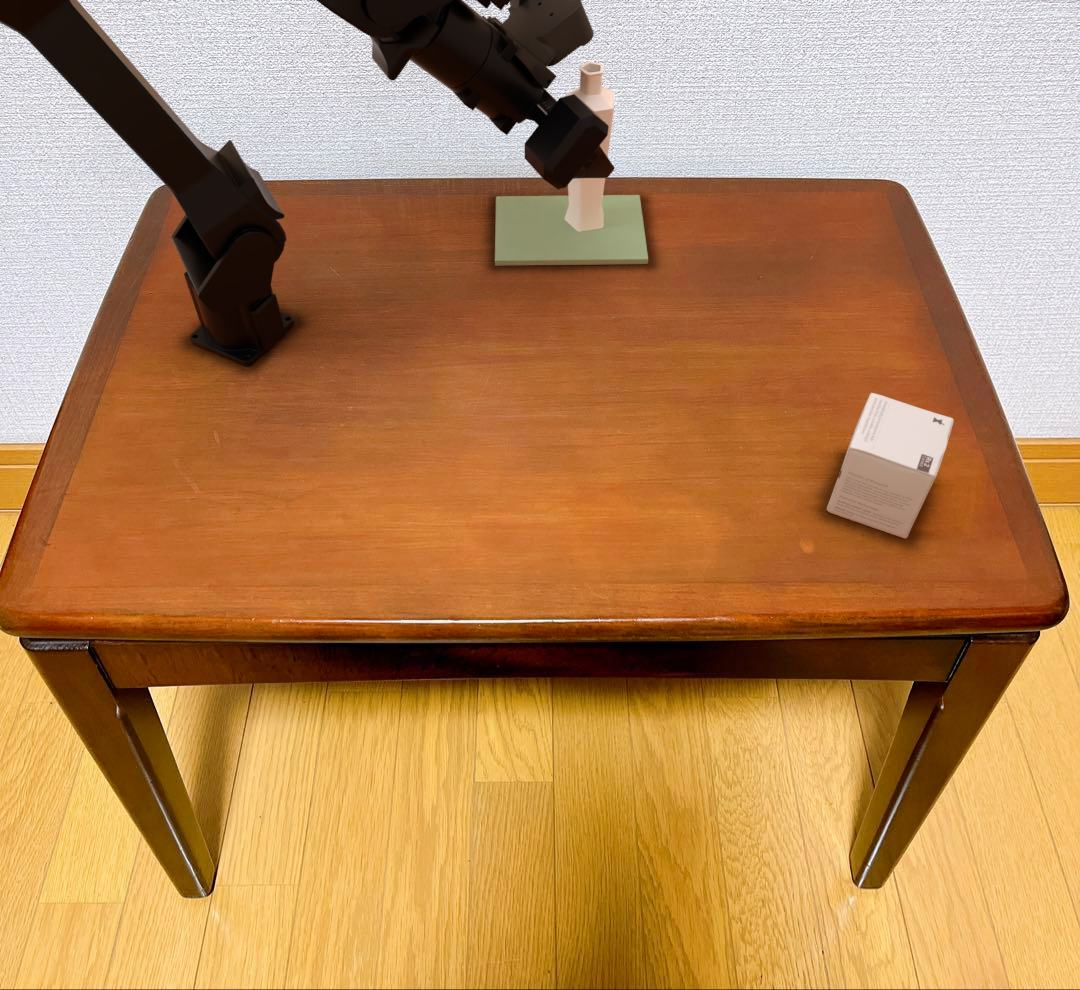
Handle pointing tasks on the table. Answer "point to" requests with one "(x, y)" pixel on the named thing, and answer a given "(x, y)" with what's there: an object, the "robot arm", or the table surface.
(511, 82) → the robot arm
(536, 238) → the mat
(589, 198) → the perfume bottle
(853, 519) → the product carton
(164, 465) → the table surface
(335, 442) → the table surface
